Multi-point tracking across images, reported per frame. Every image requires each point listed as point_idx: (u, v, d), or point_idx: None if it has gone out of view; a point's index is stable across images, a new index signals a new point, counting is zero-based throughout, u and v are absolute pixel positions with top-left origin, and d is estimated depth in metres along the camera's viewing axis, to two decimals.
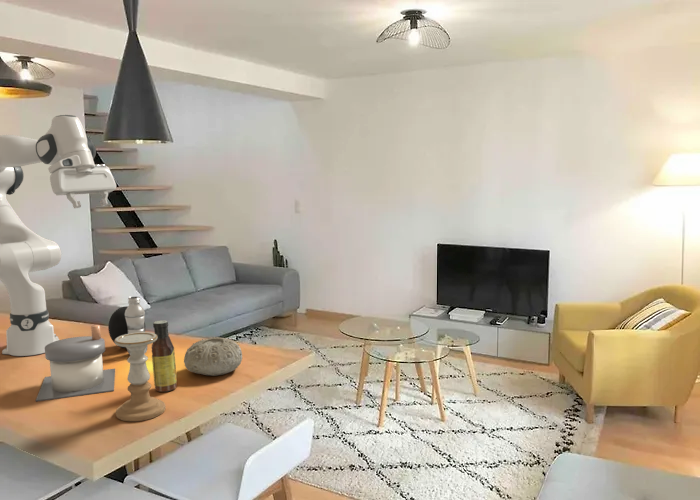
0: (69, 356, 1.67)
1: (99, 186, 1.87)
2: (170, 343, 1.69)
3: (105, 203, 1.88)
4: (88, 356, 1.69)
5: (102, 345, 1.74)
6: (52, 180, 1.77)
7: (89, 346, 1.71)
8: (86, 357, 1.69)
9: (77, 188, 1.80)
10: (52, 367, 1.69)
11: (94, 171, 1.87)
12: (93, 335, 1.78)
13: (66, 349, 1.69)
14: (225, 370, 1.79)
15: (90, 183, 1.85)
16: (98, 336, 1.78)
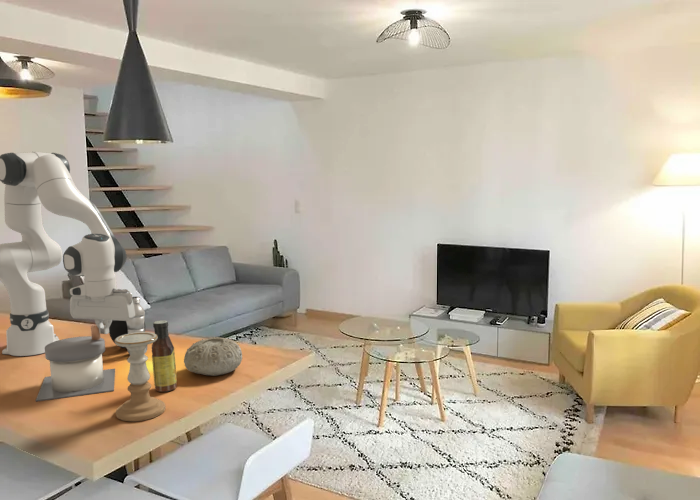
0: (70, 356, 1.67)
1: (109, 316, 1.75)
2: (170, 343, 1.69)
3: (103, 332, 1.78)
4: (89, 356, 1.69)
5: (102, 345, 1.74)
6: None
7: (89, 346, 1.71)
8: (87, 357, 1.69)
9: (86, 316, 1.77)
10: (52, 367, 1.69)
11: (107, 299, 1.75)
12: (93, 335, 1.78)
13: (67, 349, 1.69)
14: (225, 370, 1.79)
15: (100, 312, 1.76)
16: (98, 336, 1.78)
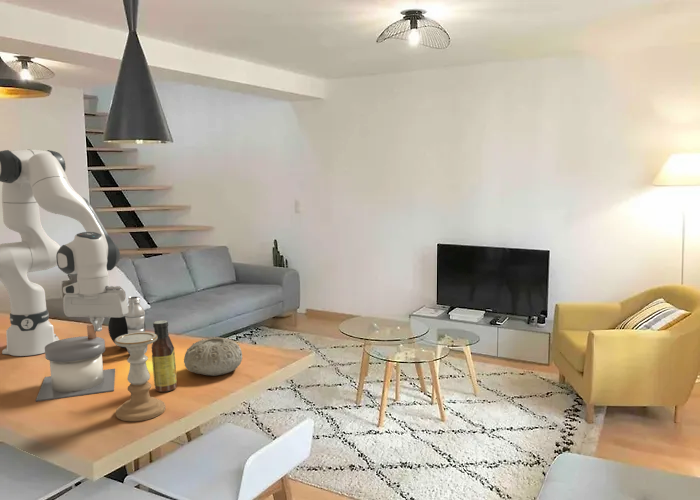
0: (79, 355, 1.67)
1: (103, 313, 1.76)
2: (170, 343, 1.69)
3: (96, 330, 1.79)
4: (96, 354, 1.71)
5: (104, 343, 1.77)
6: None
7: (94, 344, 1.73)
8: (94, 355, 1.71)
9: (80, 314, 1.78)
10: (52, 367, 1.69)
11: (100, 297, 1.76)
12: (90, 334, 1.79)
13: (72, 349, 1.69)
14: (225, 370, 1.79)
15: (94, 310, 1.77)
16: (95, 335, 1.80)
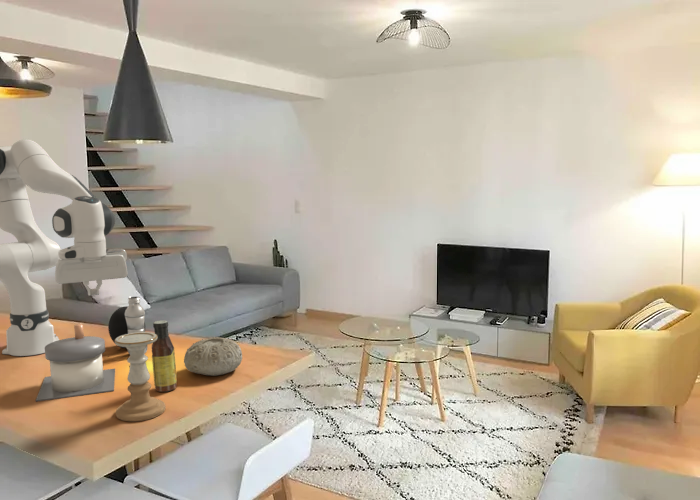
0: (96, 351, 1.71)
1: (106, 276, 1.81)
2: (170, 343, 1.69)
3: (96, 293, 1.81)
4: (104, 349, 1.76)
5: None
6: (55, 268, 1.76)
7: (97, 341, 1.77)
8: (104, 350, 1.76)
9: (77, 279, 1.77)
10: (52, 367, 1.69)
11: (104, 259, 1.80)
12: (80, 334, 1.79)
13: (85, 346, 1.71)
14: (225, 370, 1.79)
15: (95, 273, 1.79)
16: (83, 334, 1.81)
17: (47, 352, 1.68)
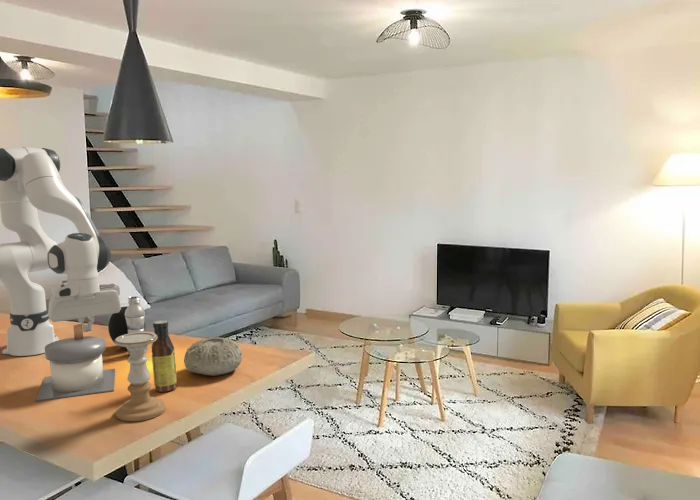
0: (96, 350, 1.71)
1: (99, 312, 1.82)
2: (170, 343, 1.69)
3: (88, 330, 1.81)
4: (104, 348, 1.76)
5: None
6: (49, 307, 1.75)
7: (97, 340, 1.77)
8: (104, 349, 1.76)
9: (71, 317, 1.77)
10: (52, 367, 1.69)
11: (97, 296, 1.81)
12: (79, 334, 1.79)
13: (85, 346, 1.71)
14: (225, 370, 1.79)
15: (89, 310, 1.80)
16: (82, 334, 1.81)
17: (47, 352, 1.68)
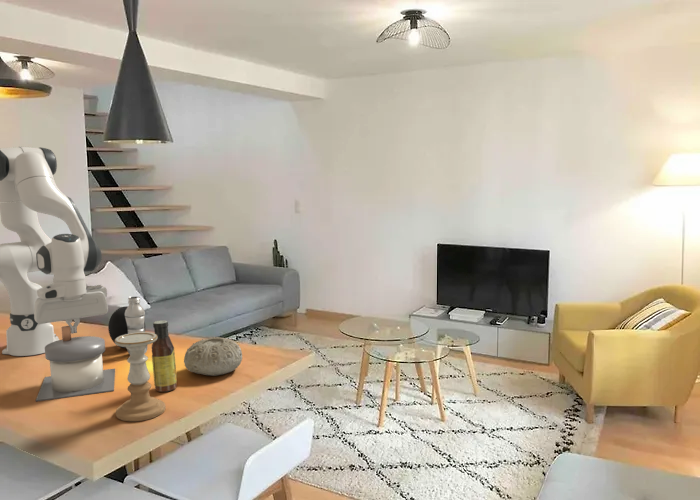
0: (103, 346, 1.75)
1: (86, 313, 1.80)
2: (170, 343, 1.69)
3: (73, 332, 1.79)
4: None
5: None
6: (35, 308, 1.73)
7: (94, 338, 1.79)
8: None
9: (58, 318, 1.75)
10: (52, 367, 1.69)
11: (84, 297, 1.79)
12: (69, 335, 1.78)
13: (92, 344, 1.74)
14: (225, 370, 1.79)
15: (75, 311, 1.78)
16: None
17: (58, 354, 1.66)
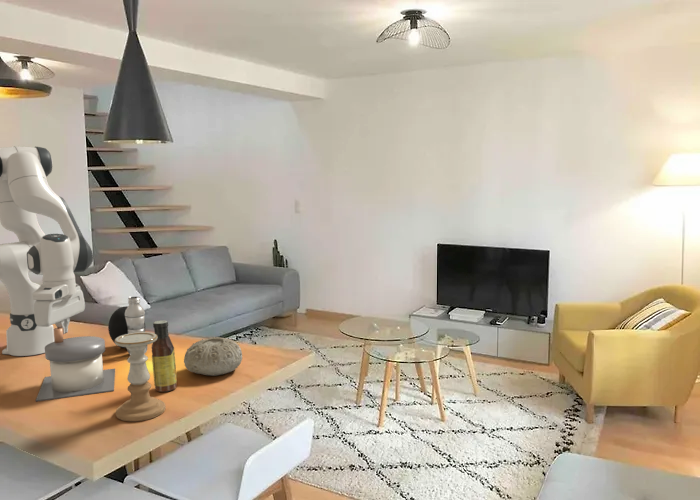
0: None
1: (74, 312, 1.81)
2: (170, 343, 1.69)
3: (66, 331, 1.79)
4: None
5: None
6: (39, 312, 1.68)
7: (88, 338, 1.80)
8: None
9: (59, 319, 1.73)
10: (52, 367, 1.69)
11: (72, 296, 1.80)
12: (62, 337, 1.76)
13: (95, 342, 1.76)
14: (225, 370, 1.79)
15: (68, 311, 1.78)
16: None
17: (69, 353, 1.66)
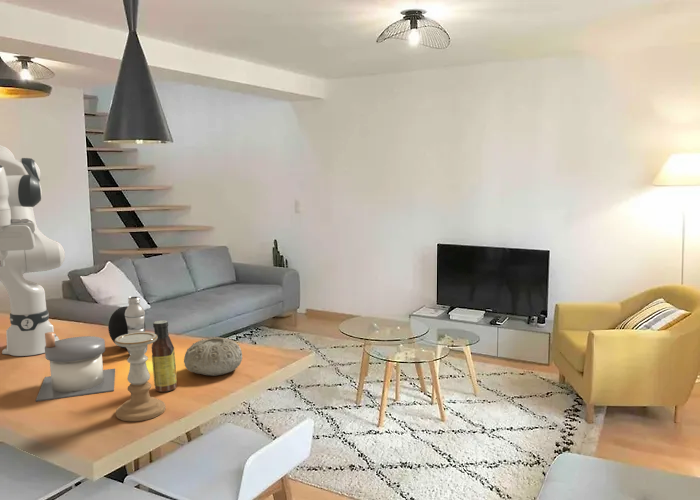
0: None
1: (9, 247, 1.74)
2: (170, 343, 1.69)
3: (0, 265, 1.75)
4: None
5: None
6: None
7: (72, 339, 1.79)
8: None
9: None
10: (52, 367, 1.69)
11: (6, 230, 1.73)
12: None
13: (91, 339, 1.79)
14: (225, 370, 1.79)
15: None
16: None
17: (91, 349, 1.70)
